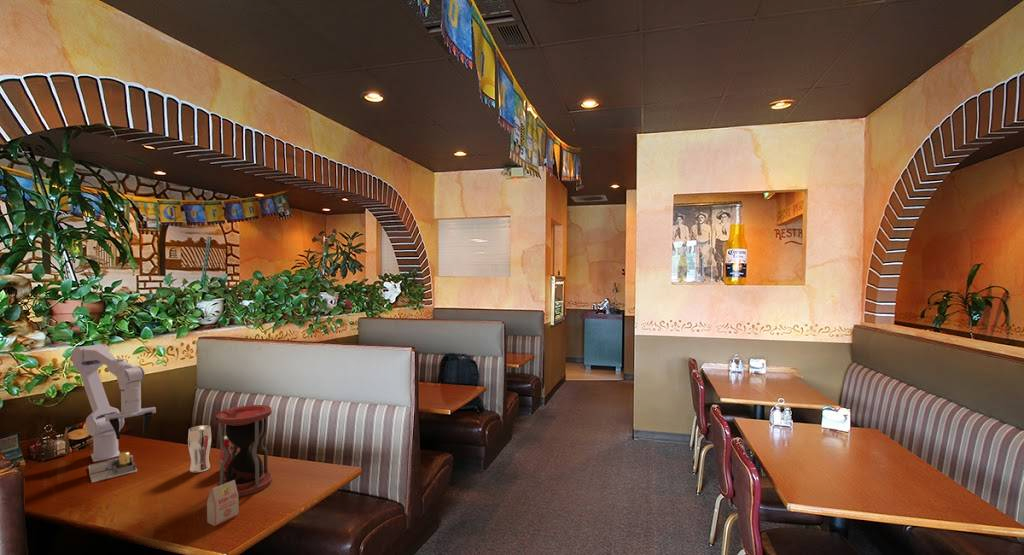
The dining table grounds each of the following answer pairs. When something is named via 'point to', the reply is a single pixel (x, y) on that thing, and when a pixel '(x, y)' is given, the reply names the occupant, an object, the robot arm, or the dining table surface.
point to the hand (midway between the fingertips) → (131, 435)
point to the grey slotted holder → (114, 463)
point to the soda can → (230, 447)
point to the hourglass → (245, 447)
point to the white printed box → (222, 503)
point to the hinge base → (109, 471)
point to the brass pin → (124, 459)
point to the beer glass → (199, 448)
